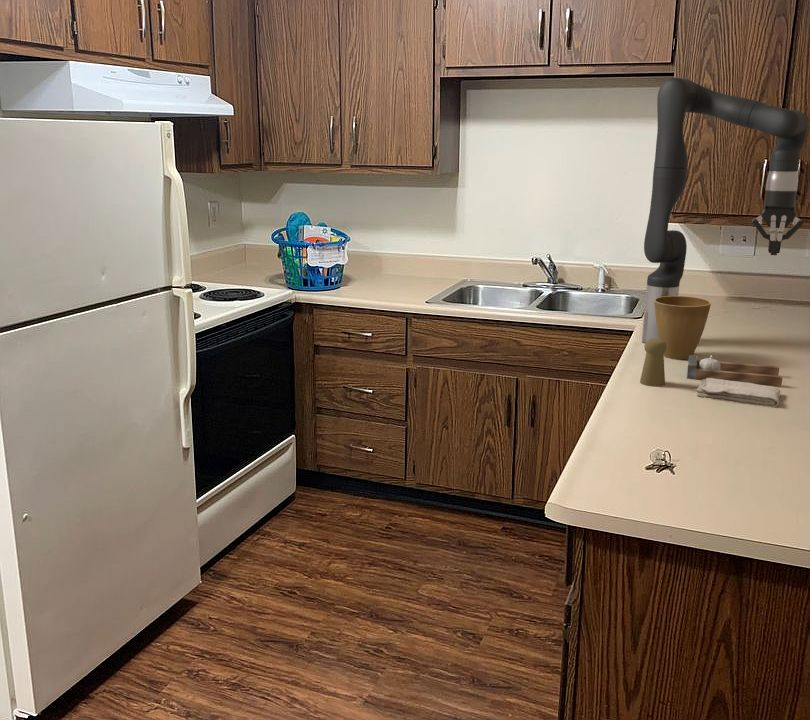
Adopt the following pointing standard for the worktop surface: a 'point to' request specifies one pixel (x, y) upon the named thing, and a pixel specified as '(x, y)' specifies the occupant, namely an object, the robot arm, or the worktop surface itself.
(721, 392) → the washcloth
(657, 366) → the olive green shaker
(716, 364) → the garlic
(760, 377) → the guide track
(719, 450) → the worktop surface
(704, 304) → the plant pot
